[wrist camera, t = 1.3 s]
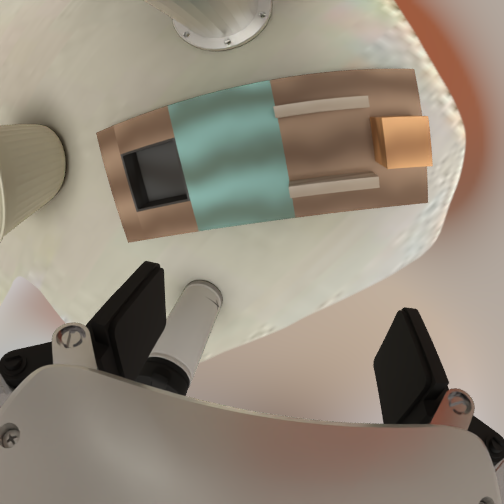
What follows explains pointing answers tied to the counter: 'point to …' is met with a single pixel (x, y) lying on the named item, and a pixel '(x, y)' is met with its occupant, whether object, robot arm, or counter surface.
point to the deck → (261, 154)
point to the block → (401, 141)
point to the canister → (27, 171)
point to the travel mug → (182, 339)
